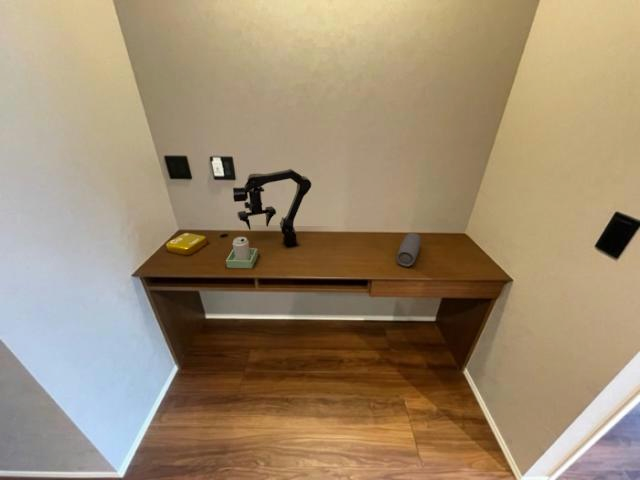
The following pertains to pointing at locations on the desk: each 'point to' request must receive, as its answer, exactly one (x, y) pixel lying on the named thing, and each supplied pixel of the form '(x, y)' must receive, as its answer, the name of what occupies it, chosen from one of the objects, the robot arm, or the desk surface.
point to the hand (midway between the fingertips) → (258, 228)
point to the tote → (241, 264)
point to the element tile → (186, 244)
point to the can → (241, 249)
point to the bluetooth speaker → (409, 249)
